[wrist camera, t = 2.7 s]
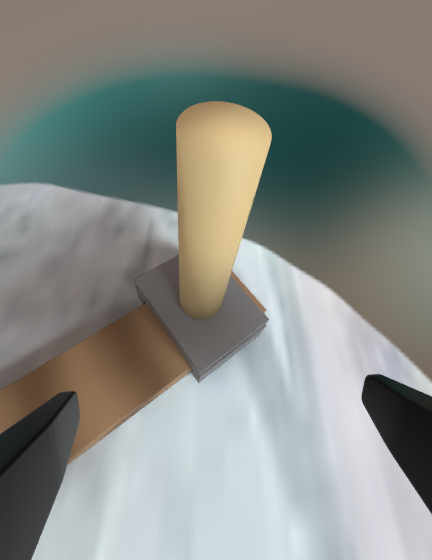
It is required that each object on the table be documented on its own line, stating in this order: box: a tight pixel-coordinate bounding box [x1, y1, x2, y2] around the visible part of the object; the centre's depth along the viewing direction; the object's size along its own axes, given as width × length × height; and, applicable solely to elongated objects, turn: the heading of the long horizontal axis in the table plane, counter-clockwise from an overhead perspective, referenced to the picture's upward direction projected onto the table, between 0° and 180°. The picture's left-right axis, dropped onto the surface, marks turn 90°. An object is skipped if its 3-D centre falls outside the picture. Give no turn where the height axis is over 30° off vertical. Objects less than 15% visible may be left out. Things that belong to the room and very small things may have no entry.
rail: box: [0, 272, 266, 465], centre depth 20 cm, size 22×6×2 cm, turn 128°
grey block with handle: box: [134, 101, 272, 383], centre depth 16 cm, size 6×8×16 cm
